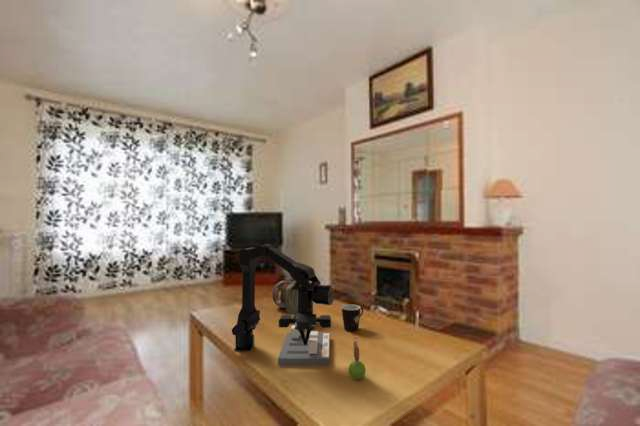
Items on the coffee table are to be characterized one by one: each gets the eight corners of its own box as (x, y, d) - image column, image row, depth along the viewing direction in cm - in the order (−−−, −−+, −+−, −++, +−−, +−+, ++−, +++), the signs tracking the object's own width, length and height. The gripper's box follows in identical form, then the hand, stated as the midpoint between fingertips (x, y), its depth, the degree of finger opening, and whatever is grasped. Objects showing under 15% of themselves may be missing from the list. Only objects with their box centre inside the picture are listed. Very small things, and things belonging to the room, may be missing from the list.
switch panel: (278, 365, 114) (277, 357, 114) (287, 338, 138) (287, 332, 138) (329, 365, 114) (329, 358, 114) (329, 338, 138) (329, 332, 138)
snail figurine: (363, 372, 109) (363, 336, 109) (367, 382, 102) (366, 344, 102) (347, 372, 109) (346, 337, 108) (349, 383, 102) (349, 344, 102)
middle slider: (309, 345, 124) (309, 335, 124) (310, 341, 128) (310, 331, 128) (317, 345, 124) (317, 335, 124) (318, 341, 128) (318, 331, 128)
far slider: (291, 338, 131) (291, 328, 131) (292, 334, 135) (292, 325, 135) (298, 338, 131) (298, 328, 131) (299, 334, 135) (299, 325, 135)
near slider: (308, 353, 117) (308, 342, 117) (309, 349, 121) (309, 338, 121) (316, 353, 117) (316, 342, 117) (317, 349, 121) (317, 338, 121)
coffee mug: (345, 333, 143) (345, 311, 143) (339, 327, 151) (338, 305, 151) (370, 330, 146) (369, 308, 146) (362, 324, 154) (362, 303, 154)
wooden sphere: (289, 302, 193) (289, 276, 193) (304, 307, 182) (304, 280, 182) (267, 307, 184) (266, 280, 184) (282, 313, 172) (281, 285, 172)
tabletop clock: (303, 324, 155) (302, 271, 155) (285, 323, 157) (284, 271, 157) (310, 314, 170) (309, 266, 169) (293, 313, 171) (292, 266, 171)
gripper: (275, 308, 111) (276, 354, 111) (330, 308, 110) (330, 354, 111) (281, 299, 122) (281, 341, 122) (330, 299, 122) (331, 341, 122)
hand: (305, 344), depth 119 cm, fingers closed
